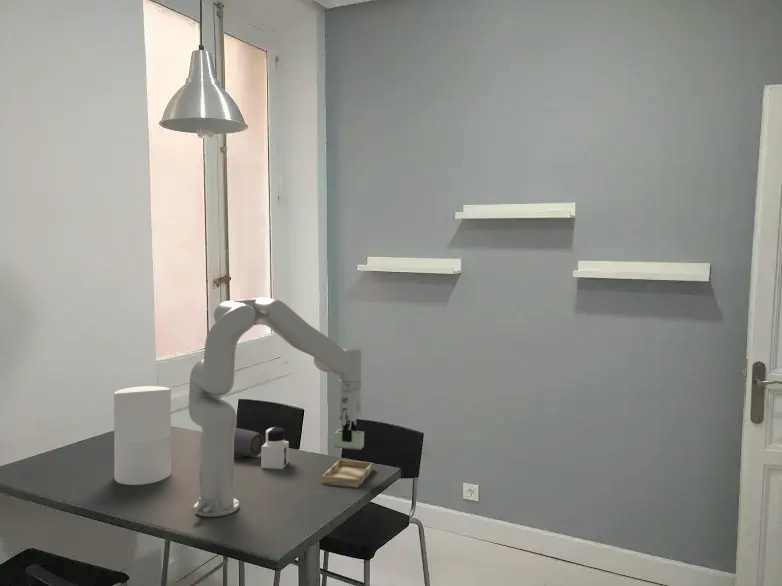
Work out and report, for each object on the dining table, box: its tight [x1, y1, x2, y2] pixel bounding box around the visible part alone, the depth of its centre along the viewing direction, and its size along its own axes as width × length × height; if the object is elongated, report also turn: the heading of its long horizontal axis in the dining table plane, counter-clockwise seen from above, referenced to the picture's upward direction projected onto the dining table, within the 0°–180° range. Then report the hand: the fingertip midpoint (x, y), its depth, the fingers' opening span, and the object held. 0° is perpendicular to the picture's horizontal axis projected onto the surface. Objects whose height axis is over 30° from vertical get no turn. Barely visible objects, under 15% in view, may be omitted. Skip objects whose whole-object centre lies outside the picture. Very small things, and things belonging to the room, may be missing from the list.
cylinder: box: [113, 385, 172, 486], centre depth 200 cm, size 17×17×28 cm
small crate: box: [334, 428, 365, 451], centre depth 203 cm, size 4×9×5 cm, turn 76°
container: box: [260, 426, 290, 470], centre depth 213 cm, size 8×8×13 cm
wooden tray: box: [321, 458, 374, 489], centre depth 203 cm, size 17×12×2 cm
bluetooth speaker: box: [200, 427, 265, 458], centre depth 223 cm, size 23×9×10 cm, turn 65°
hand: (349, 438), depth 203 cm, fingers closed on small crate, 4 cm apart
